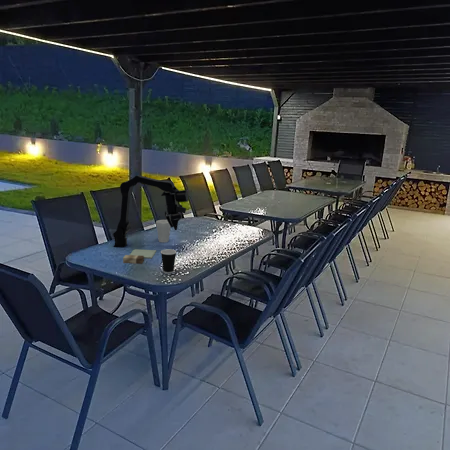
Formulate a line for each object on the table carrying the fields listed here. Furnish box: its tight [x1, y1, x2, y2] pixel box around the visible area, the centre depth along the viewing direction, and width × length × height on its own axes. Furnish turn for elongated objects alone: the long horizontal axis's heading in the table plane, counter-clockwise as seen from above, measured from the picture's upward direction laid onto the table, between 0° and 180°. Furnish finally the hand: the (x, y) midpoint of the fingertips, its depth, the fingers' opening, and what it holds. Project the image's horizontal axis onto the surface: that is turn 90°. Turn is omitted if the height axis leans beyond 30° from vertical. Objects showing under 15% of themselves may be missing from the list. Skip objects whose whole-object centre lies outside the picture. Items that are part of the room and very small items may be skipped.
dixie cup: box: [160, 248, 177, 275], centre depth 200 cm, size 8×8×11 cm
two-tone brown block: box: [122, 254, 145, 265], centre depth 214 cm, size 10×5×3 cm, turn 89°
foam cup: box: [155, 219, 172, 244], centre depth 254 cm, size 10×9×13 cm
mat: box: [129, 249, 157, 260], centre depth 227 cm, size 13×13×1 cm
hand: (173, 228), depth 235 cm, fingers open, 9 cm apart
